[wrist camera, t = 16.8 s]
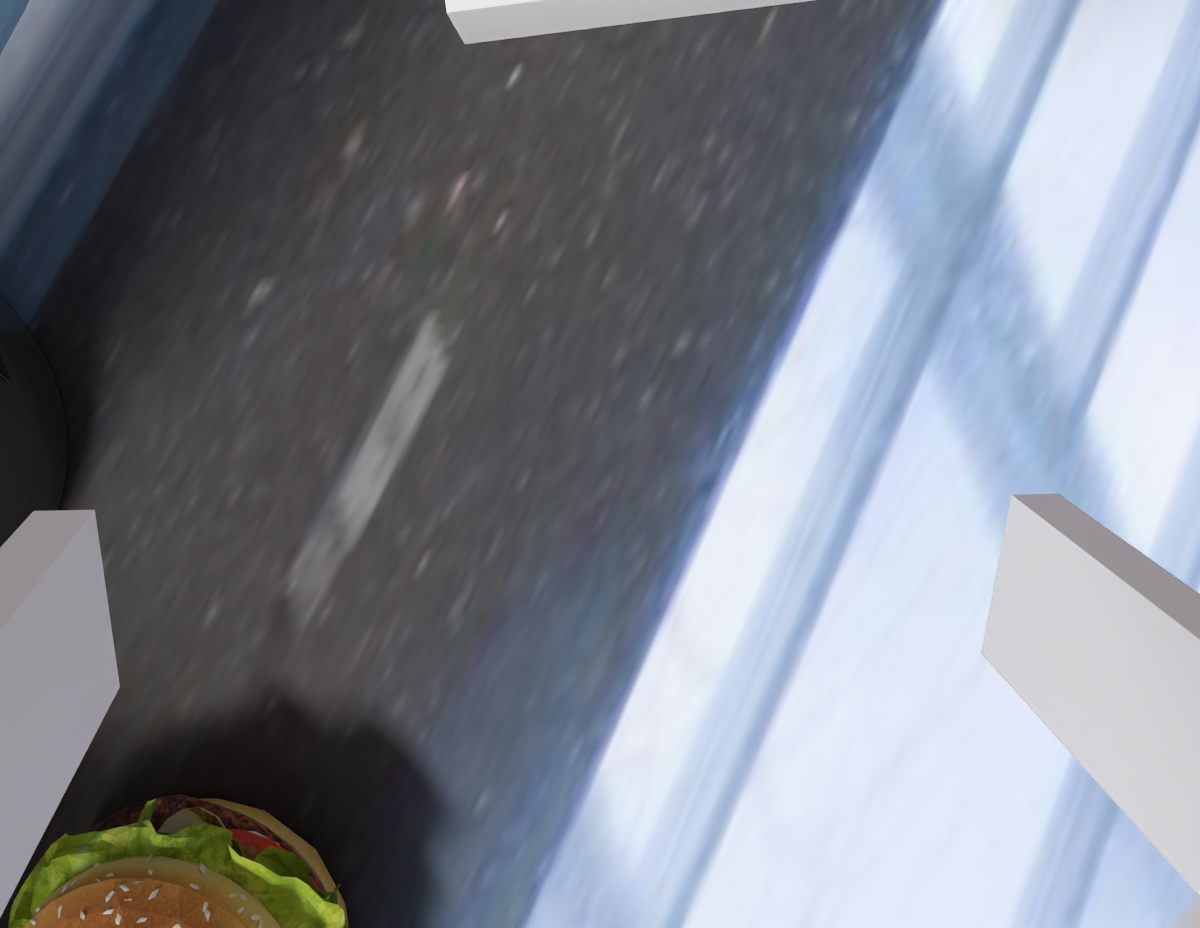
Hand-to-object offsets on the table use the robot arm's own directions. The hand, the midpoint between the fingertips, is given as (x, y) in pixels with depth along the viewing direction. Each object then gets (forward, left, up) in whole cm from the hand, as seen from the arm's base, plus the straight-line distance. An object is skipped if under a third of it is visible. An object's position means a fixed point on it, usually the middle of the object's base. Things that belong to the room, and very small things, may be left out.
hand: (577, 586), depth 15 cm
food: (-13, -22, -26) cm, 36 cm away
